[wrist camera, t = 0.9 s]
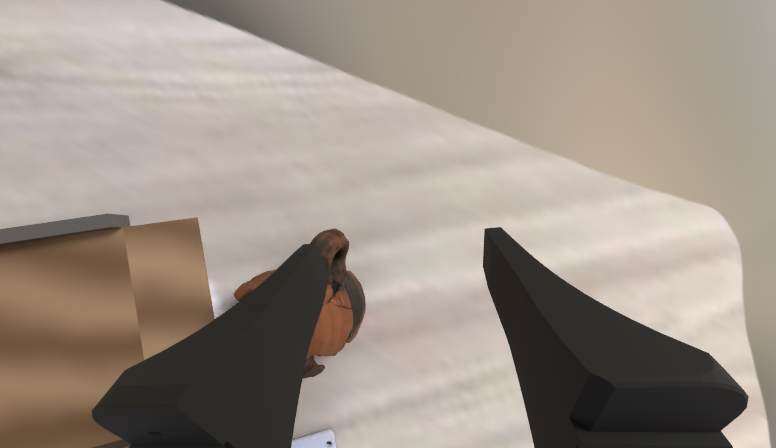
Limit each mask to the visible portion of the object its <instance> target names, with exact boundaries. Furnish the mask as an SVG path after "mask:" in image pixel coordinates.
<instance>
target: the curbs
mask: <svg viewBox="0 0 776 448" xmlns="http://www.w3.org/2000/svg"><path fill="white" fill-rule="evenodd" d="M123 227H130V223H129V217H128V216H126V215H115V214H103V215H96V216H89V217H82V218H75V219H69V220H62V221H55V222H48V223H41V224H34V225H27V226H20V227H13V228H6V229H0V246H5V245H12V244H18V243H25V242H31V241H38V240H45V239H51V238H58V237H64V236H71V235H77V234H84V233H90V232H97V231H103V230H110V229H117V228H123ZM130 445H131V444H130V443H128V442H127V441H125V440H123V439H122V440H118V441H114V442H110V443H107V444H103V445H99V446H95V447H92V448H129V447H130Z"/></svg>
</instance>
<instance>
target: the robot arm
mask: <svg viewBox="0 0 776 448" xmlns="http://www.w3.org/2000/svg"><path fill="white" fill-rule="evenodd" d="M483 268H484V272H485V277H486V281H487V285H488V289H489V291H490V294H491V297H492V299H493V302H494V305H495V307H496V310H497V313H498V315H499V318H500V321H501V323H502V326H503V329H504V331H505V334H506V337H507V340H508V343H509V346H510V349H511V353H512V357H513V360H514V364H515V368H516V372H517V375H518V379H519V383H520V387H521V391H522V395H523V399H524V404H525V408H526V412H527V416H528V420H529V425H530V429H531V433H532V438H533V442H534V447H535V448H733V447H732V445H731V444H730V442H729V441H728V440H727V439H726V437H725V436H724V435H723V433H722V432H721V430H722V429H723V428H724V427H726V426H727V425H728V424H729V423H731V422H732V421H733V420H734V419H735V418H737V417H738V416H739V415H740V414H741V413H742V412H743V411H744V410H745V409H746V408H747V403H748V395H747V394H746V393H745V391H744V390H743V389H742V388H741V387H740V386H739V384H738V383H737V382H736V381H735V380H734V379H733V378H732V377H731V376H730V375H729V374H728V373H727V371H726V370H725V369H724V368H723V367H722V366H721V365H720V364H719V363H718V362H717V361H716V360H715V359H714V358H713V357H712V356H711V355H710V354H709V353H707V352H704V351H702V350H700V349H697V348H695V347H692V346H690V345H688V344H685V343H683V342H681V341H678V340H676V339H673V338H671V337H669V336H666V335H664V334H662V333H659V332H657V331H655V330H653V329H651V328H649V327H647V326H644V325H642V324H640V323H638V322H636V321H634V320H632V319H630V318H628V317H626V316H624V315H622V314H620V313H618V312H616V311H614V310H612V309H611V308H609V307H607V306H605V305H603V304H602V303H600V302H598V301H596V300H594V299H593V298H591V297H589V296H588V295H586V294H584V293H583V292H581V291H580V290H578V289H576V288H575V287H573V286H572V285H570V284H569V283H567V282H566V281H564V280H563V279H561V278H560V277H558V276H557V275H556V274H554V273H553V272H552V271H550V270H549V269H548V268H546V267H545V266H544V265H543V264H541V263H540V262H539V261H538V260H536V259H535V258H534V257H533V256H532V255H531V254H529V253H528V252H527V251H526V250H525V249H524V248H522V247H521V246H520V245H519V244H518V243H517V242H516V241H515V240H514V239H513V238H512V237H511V236H509V235H508V234H507V233H506V232H505V231H504V230H503V229H502V228H501V227H498V228H487V229H485V234H484V256H483ZM328 279H329V276H328V273H327V271H326V268H325V265H324V263H323V260H322V257H321V255H320V252H319V250H318V247H317V244H305V245H302V246H301V247H300V248H299V249H298V250H297V251H296V252H294V253H293V254H292V255H291V256H290V257H289V258H288V259H287V260H286V261H285V262H284V263H283V264H282V265H281V266H280V267H279V268H278V269H277V270H276V271H275V272H274V273H272V274H271V275H270V276H269V277H268V278H267V279H266V280H265V281H264V282H262V283H261V284H260V285H259V286H258V287H257V288H256V289H254V290H253V291H252V292H251V293H250V294H249V295H247V296H246V297H245V298H244V299H242V300H241V301H240V302H239V303H237V304H236V305H235V306H233V307H232V308H231V309H229V310H228V311H226V312H225V313H224V314H222V315H221V316H219V317H218V318H216V319H215V320H213V321H212V322H210V323H209V324H207V325H206V326H204V327H203V328H201V329H200V330H198V331H196V332H195V333H193V334H191V335H190V336H188V337H186V338H185V339H183V340H181V341H179V342H178V343H176V344H174V345H172V346H171V347H169V348H167V349H165V350H163V351H161V352H159V353H158V354H156V355H154V356H152V357H150V358H148V359H146V360H144V361H142V362H140V363H138V364H136V365H134V366H132V367H130V368H128V369H126V370H125V371H124V372H123V373H122V374H121V375H120V377H119V378H118V379H117V380H116V381H115V383H114V384H113V385H112V386H111V388H110V389H109V390H108V391H107V392H106V394H105V395H104V396H103V397H102V399H101V400H100V401H99V402H98V403H97V405H96V406H95V407H94V408H93V410H92V411H91V412H92V418H93V420H94V421H95V422H96V423H97V424H99V425H100V426H101V427H103V428H104V429H106V430H108V431H110V432H111V433H113V434H115V435H116V436H118V437H120V438H122V439H123V440H125V441H127V442H128V443H130V444H131V445H130V447H129V448H336V442H335V437H334V433H333V431H332V430H325V431H322V432H318V433H315V434H311V435H308V436H304V437H301V438H298V439H294V440H292V437H293V429H294V423H295V417H296V411H297V404H298V398H299V393H300V388H301V383H302V377H303V372H304V368H305V363H306V359H307V354H308V350H309V347H310V343H311V340H312V337H313V334H314V331H315V328H316V325H317V322H318V319H319V316H320V313H321V309H322V306H323V303H324V300H325V296H326V291H327V285H328ZM328 441H331V442H332V443H331V444H327V442H328Z"/></svg>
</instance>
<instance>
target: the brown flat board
mask: <svg viewBox="0 0 776 448" xmlns="http://www.w3.org/2000/svg"><path fill="white" fill-rule="evenodd" d="M213 320H215V319H214V313H213V307H212V301H211V295H210V289H209V283H208V277H207V271H206V265H205V259H204V253H203V248H202V242H201V236H200V230H199V224H198V218H191V219H183V220H176V221H168V222H161V223H153V224H146V225H138V226H131V227H123V228H117V229H110V230H103V231H97V232H90V233H84V234H77V235H71V236H64V237H58V238H51V239H45V240H38V241H31V242H25V243H18V244H12V245H5V246H0V448H92V447H95V446H99V445H103V444H107V443H110V442H114V441H118V440H122V438H120V437H118V436H116V435H115V434H113V433H111V432H110V431H108V430H106V429H104V428H103V427H101V426H100V425H99V424H97V423H96V422H95V421H94V420H93V418H92V412H91V411H92V410H93V408H94V407H95V406H96V405H97V403H98V402H99V401H100V400H101V399H102V397H103V396H104V395H105V394H106V392H107V391H108V390H109V389H110V388H111V386H112V385H113V384H114V383H115V381H116V380H117V379H118V378H119V377H120V375H121V374H122V373H123V372H124V371H125V370H126V369H128V368H130V367H132V366H134V365H136V364H138V363H140V362H142V361H144V360H146V359H148V358H150V357H152V356H154V355H156V354H158V353H159V352H161V351H163V350H165V349H167V348H169V347H171V346H172V345H174V344H176V343H178V342H179V341H181V340H183V339H185V338H186V337H188V336H190V335H191V334H193V333H195V332H196V331H198V330H200V329H201V328H203V327H204V326H206V325H207V324H209V323H210V322H212V321H213Z"/></svg>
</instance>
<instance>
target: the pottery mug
mask: <svg viewBox="0 0 776 448" xmlns="http://www.w3.org/2000/svg"><path fill="white" fill-rule="evenodd" d="M310 244H317V247H318V250H319V252H320V255H321V257H322V260H323V263H324V265H325V268H326V271H327V273H328V276H329V279H328V285H327V291H326V296H325V300H324V303H323V306H322V309H321V313H320V316H319V319H318V322H317V325H316V328H315V331H314V334H313V337H312V340H311V343H310V347H309V350H308V354H307V359H306V363H305V368H304V372H303V377H302V379H303V378H307V377H314V376H316V375H318V374H319V373H321V372H322V371H323V370H324V369H325V366H324V365H318V364H317V363H316V362H315V360H314V357H313V355H317V356H334V355H336V354H337V353H338V352H339V351H340V350H342V349H343V348H344V346H345V343H346V342H347V343H350V342H351V341H352V340H353V339H354V338H355V336H356V335H357V333H358V330H359V328H360V325H361V323H362V320H363V318H364V313H365V296H364V292H363V289H362V286H361V284H360V282H359V281H358V280H357V278H356V277H355V276H354V274H353V273H352V272H351V271H347V270H346V266H345V259H346V255H347V252H348V249H349V241H348V240H347V239H346V237H345V236H344V234H343V233H342V232H341V231H339V230H337V229H331V230H326V231H323V232H321V233H319V234H318V235H317V236H316V237H315V238H314V239H313V240H312V242H311V243H310ZM275 271H276V270H273V271H267V272H264V273H262V274H260V275H258V276H255V277H254V278H252V279H251V280H250V281H248V282H246V283H244V284H242V285H241V286H240V287H239V288H238V289H237V290H236V291H235V293H234V296H235V298H236V299H237V300H239V301H241V300H242V299H244V298H245V297H246V296H247V295H249V294H250V293H251V292H252V291H253V290H254V289H256V288H257V287H258V286H259V285H260V284H261V283H262V282H264V281H265V280H266V279H267V278H268V277H269V276H270V275H271V274H272V273H274V272H275ZM332 282H333V283H335V284H337V285H338V288H337V289H336V291H335V292H334V293H333V288H332V286H331V285H330V283H332Z"/></svg>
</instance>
